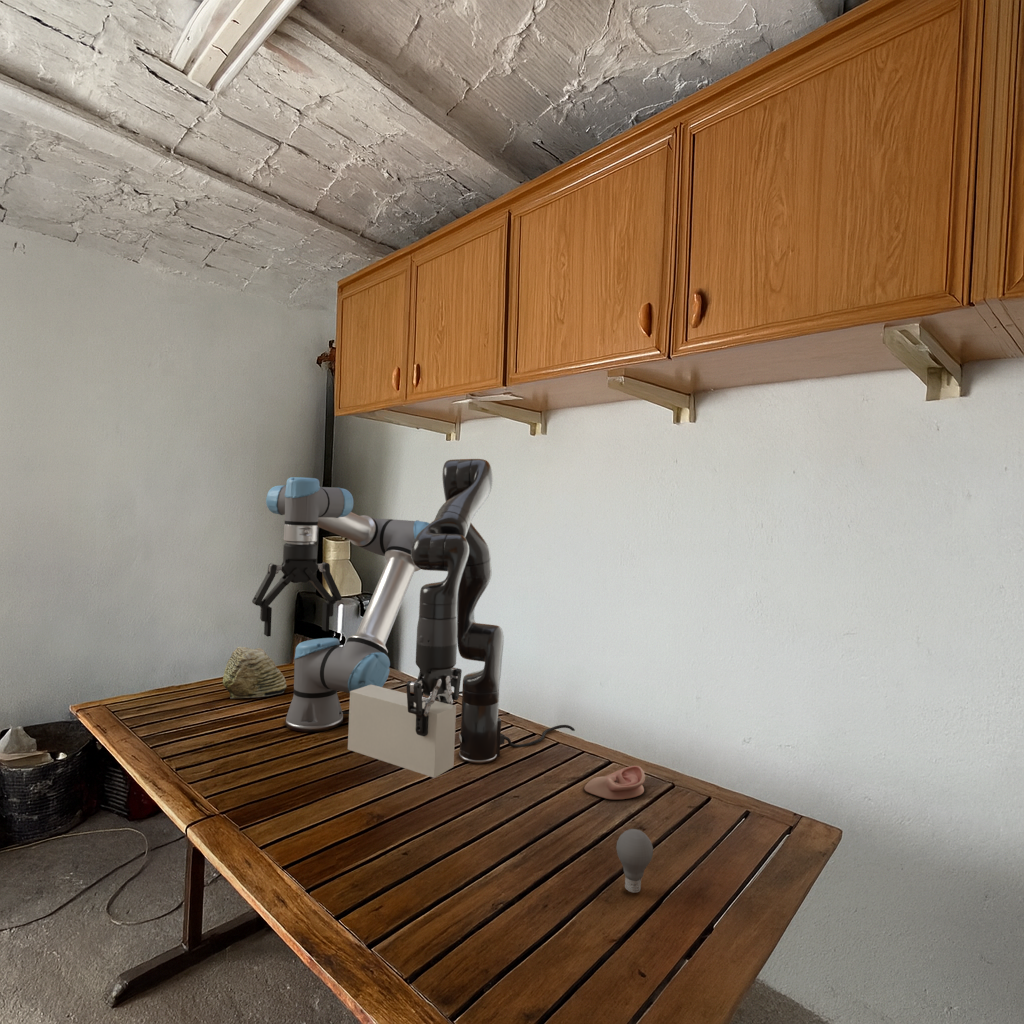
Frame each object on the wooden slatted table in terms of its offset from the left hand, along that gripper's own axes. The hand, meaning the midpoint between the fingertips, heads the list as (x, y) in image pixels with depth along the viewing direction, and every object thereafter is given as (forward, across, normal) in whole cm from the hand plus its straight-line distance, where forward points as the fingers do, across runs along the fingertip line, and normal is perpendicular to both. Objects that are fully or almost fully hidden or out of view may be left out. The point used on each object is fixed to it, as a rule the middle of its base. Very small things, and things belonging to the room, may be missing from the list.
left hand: (297, 632), depth 149 cm
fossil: (+31, +6, +56) cm, 64 cm away
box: (+17, +8, -40) cm, 44 cm away
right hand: (+10, +11, -47) cm, 49 cm away
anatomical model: (+31, +57, -50) cm, 82 cm away
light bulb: (+31, +32, -79) cm, 90 cm away
